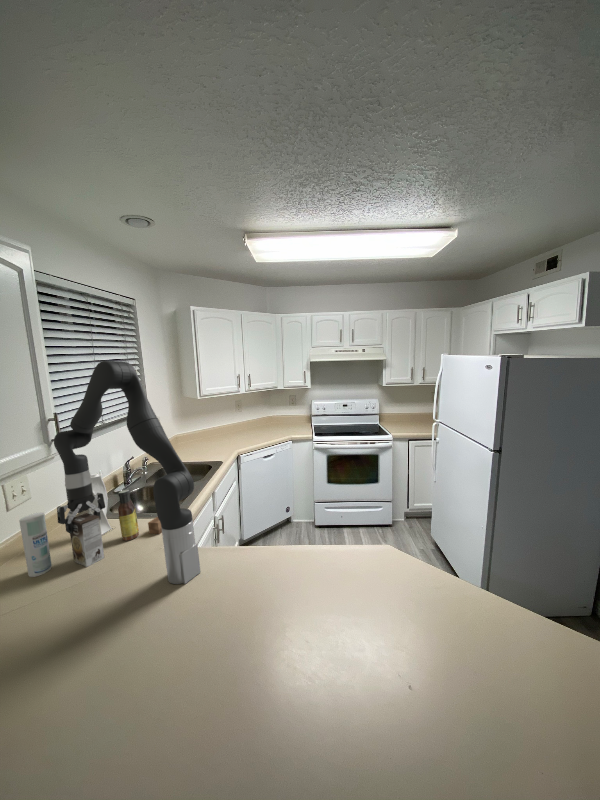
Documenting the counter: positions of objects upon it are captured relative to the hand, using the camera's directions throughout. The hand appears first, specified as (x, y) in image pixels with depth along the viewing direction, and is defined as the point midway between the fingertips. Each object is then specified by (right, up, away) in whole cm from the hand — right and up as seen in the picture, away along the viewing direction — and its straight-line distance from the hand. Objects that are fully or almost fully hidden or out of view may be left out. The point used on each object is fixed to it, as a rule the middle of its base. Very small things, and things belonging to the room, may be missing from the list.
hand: (84, 527), depth 108 cm
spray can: (-13, -14, -4) cm, 19 cm away
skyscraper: (-8, -12, +22) cm, 27 cm away
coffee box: (+1, -13, +1) cm, 13 cm away
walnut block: (+18, -10, +18) cm, 28 cm away
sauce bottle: (+8, -11, +15) cm, 20 cm away
